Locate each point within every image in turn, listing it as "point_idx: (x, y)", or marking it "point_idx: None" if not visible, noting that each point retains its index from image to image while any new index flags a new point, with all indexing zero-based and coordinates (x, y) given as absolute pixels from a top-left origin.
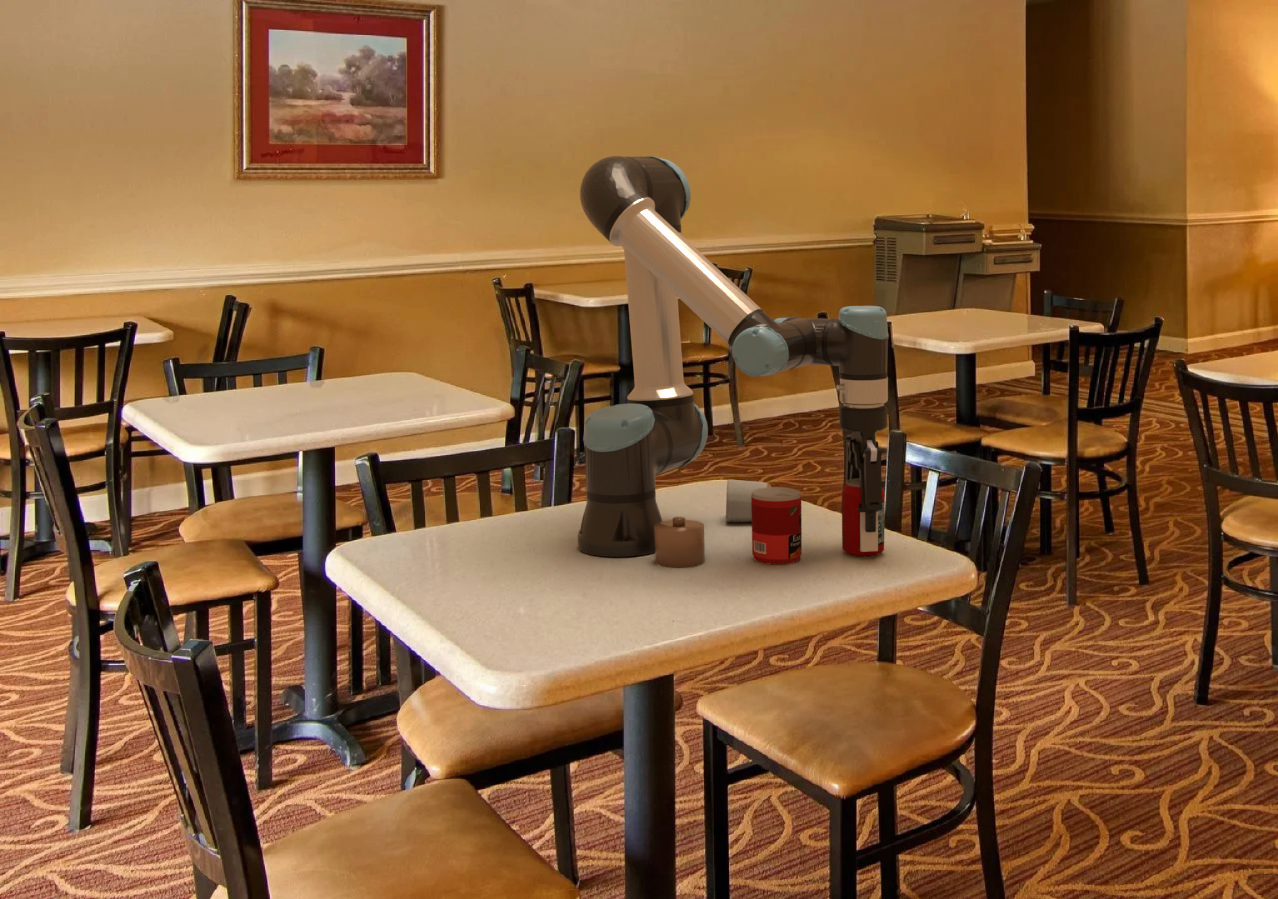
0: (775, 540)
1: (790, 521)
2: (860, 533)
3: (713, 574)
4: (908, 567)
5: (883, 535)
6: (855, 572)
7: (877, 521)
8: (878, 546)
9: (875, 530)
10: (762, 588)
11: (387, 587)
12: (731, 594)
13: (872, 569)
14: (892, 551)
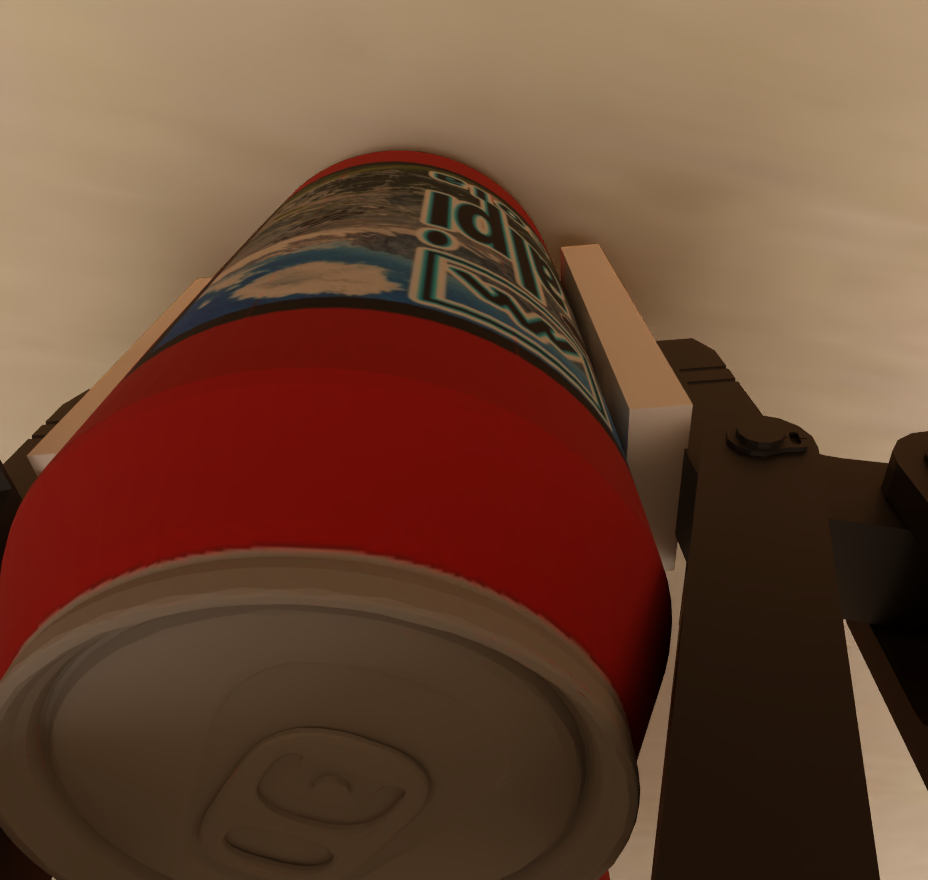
0: None
1: (604, 874)
2: None
3: (648, 841)
4: (843, 7)
5: (477, 198)
6: (817, 401)
7: (660, 350)
8: (537, 233)
9: (701, 346)
10: (893, 745)
11: None
12: (916, 813)
13: (792, 295)
14: (334, 51)
